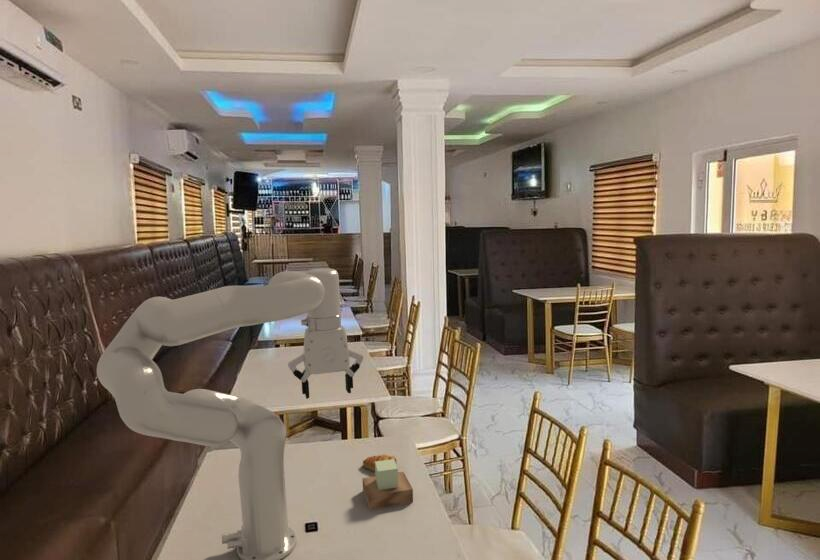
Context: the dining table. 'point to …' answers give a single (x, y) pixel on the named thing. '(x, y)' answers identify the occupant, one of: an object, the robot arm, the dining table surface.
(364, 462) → the pastry
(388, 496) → the walnut block
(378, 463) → the green cube
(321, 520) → the dining table surface
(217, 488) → the dining table surface
